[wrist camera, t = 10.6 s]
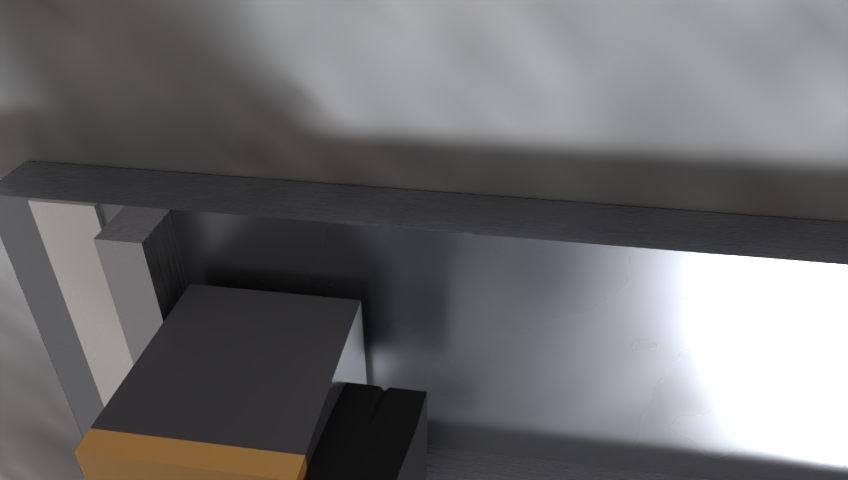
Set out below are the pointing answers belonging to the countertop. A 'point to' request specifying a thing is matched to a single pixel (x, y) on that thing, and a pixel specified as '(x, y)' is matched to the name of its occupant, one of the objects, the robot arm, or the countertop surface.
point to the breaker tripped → (229, 389)
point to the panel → (476, 313)
